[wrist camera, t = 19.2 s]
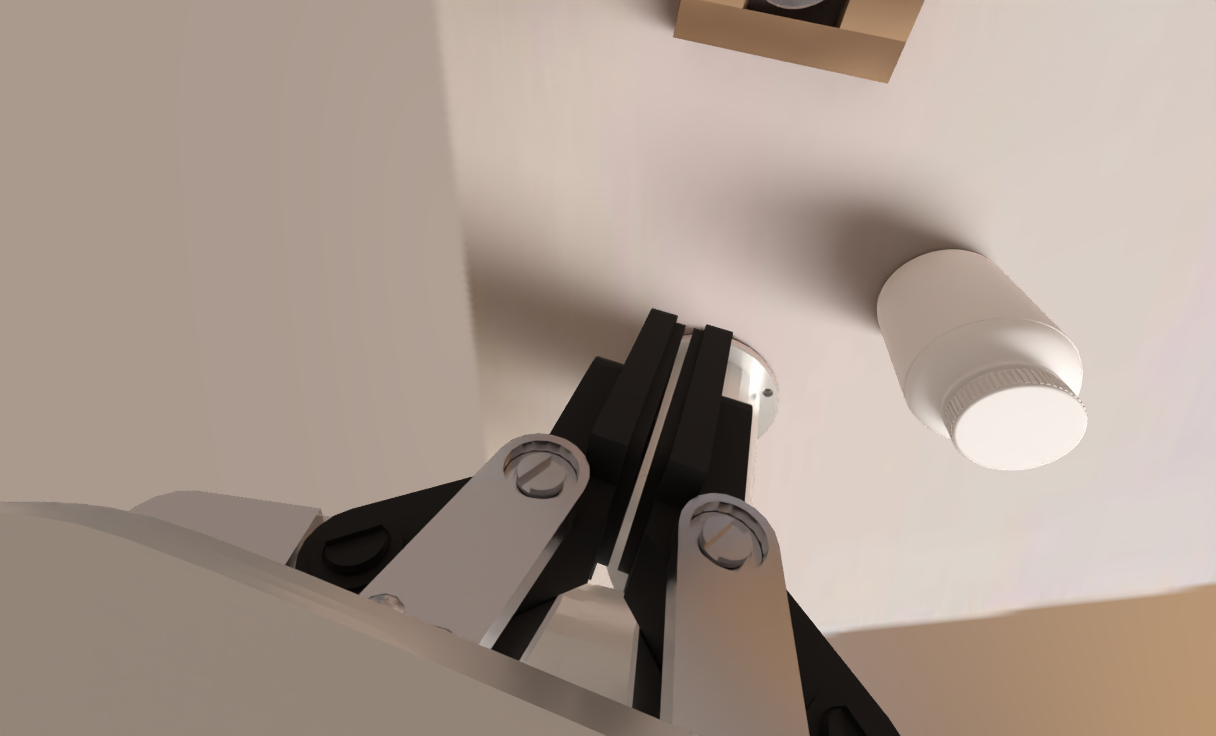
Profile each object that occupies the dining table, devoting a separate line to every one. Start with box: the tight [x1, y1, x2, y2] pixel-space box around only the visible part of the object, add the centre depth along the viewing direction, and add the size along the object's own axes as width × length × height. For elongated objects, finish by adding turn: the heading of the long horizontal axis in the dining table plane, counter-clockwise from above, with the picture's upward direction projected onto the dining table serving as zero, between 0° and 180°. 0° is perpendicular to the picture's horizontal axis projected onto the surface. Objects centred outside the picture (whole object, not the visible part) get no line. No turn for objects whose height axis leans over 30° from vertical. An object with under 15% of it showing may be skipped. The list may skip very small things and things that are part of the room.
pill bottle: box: [877, 249, 1088, 470], centre depth 29 cm, size 8×8×15 cm
